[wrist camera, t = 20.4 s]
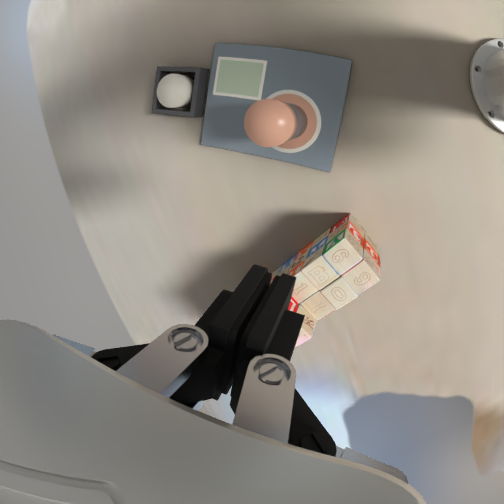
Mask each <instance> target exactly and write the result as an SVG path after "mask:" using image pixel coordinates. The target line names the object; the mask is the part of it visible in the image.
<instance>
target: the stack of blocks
mask: <svg viewBox="0 0 504 504" xmlns="http://www.w3.org/2000/svg"><path fill="white" fill-rule="evenodd" d="M282 273H285V274H288V275H291V276H295V277H296V282H295V286H294V289H293V293H292V297H291V301H290V304H289V308H288V310H290V311H293V312H296V313H299V314H303V315H305V317H304V320H303V324H302V327H301V330H300V333H299V336H298V339H297V342H296V345H295V347H297V346H299V345H300V344H302V343H304V342H305V341H307V340H309V339H311V338H312V335H313V332H314V328H315V325H316V322H317V321H319V320H320V319H322V318H323V317H325V316H327V315H328V314H330V313H331V312H333V311H335V310H336V309H339V308H341V307H342V306H344V305H345V304H347V303H349V302H350V301H352V300H353V299H355V298H356V297H358V295H359V294H361V293H363V292H364V291H366V290H367V289H369V288H370V287H372V286H373V285H375V284H376V283H378V282H379V281H380V257H379V248H378V246H377V245H376V244H375V243H374V241H373V240H372V239H371V238H370V236H369V235H368V234H367V233H366V232H365V230H364V229H363V227H362V226H361V225H360V224H359V223H358V221H357V220H356V219H355V218H354V217H353V216H352V215H351V214H350V213H349V214H348V215H346V216H345V217H344V218H343V219H342V220H340V221H339V222H338V223H337V224H335V225H334V226H333V227H330V228H329V229H328V230H327V231H325V232H324V233H323V234H321V235H320V236H319V237H318V238H316V239H315V240H314V241H312V242H311V243H310V244H308V245H307V246H306V247H305V248H303V249H302V250H301V251H299V252H298V254H296V255H295V256H294V257H292V258H291V259H290V260H288V261H287V262H286V263H284V264H283V265H282V266H281V267H279V268H278V269H277V270H275V271H274V272H273V273H272V279H271V283H272V281H273V279H274V278H275V276H276V275H278V276H281V275H282ZM271 283H270V285H271Z"/></svg>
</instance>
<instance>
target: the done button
mask: <svg viewBox="0 0 504 504" xmlns="http://www.w3.org/2000/svg"><path fill="white" fill-rule="evenodd" d="M193 87H194V81H193V80H192V78H190V77H189V76H186V75H181V74H168V75H166V76H165V77H163V78H162V79H161V81H160V82H159V84H158V87H157V97H158V100H159V102H160V103H161V104H162V105H163V106H165V107H168V108H179V107H185V106H187V105H189V104H190V103H191V101H192V94H193Z"/></svg>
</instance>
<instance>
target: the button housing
mask: <svg viewBox="0 0 504 504" xmlns="http://www.w3.org/2000/svg"><path fill="white" fill-rule="evenodd" d="M170 72H184V73H195V79H194V87H193V94H192V101H191V109H190V111H185V110H176V109H165V108H166V107H165V106H163V105H162V104H161V103H160V102H159V100H158V97H157V87H158V84H159V82H160V81H161V79H162V78H163V77H165V76H166V75H168V74H170ZM208 73H209V69H204V68H197V67H157V72H156V80H155V88H154V96H153V105H152V113H157V114H167V115H177V116H186V117H202V115H203V108H204V100H205V93H206V86H207V79H208Z"/></svg>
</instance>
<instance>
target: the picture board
mask: <svg viewBox="0 0 504 504" xmlns="http://www.w3.org/2000/svg"><path fill="white" fill-rule="evenodd" d="M351 65H352V60H348V59H343V58H338V57H333V56H328V55H323V54H317V53H312V52H305V51H299V50H292V49H284V48H276V47H267V46H257V45H245V44H229V43H215V48H214V54H213V60H212V67H211V73H210V80H209V87H208V94H207V101H206V108H205V116H204V123H203V131H202V140H201V145H205V146H211V147H217V148H222V149H227V150H233V151H238V152H243V153H248V154H253V155H258V156H262V157H267V158H271V159H276V160H280V161H285V162H289V163H293V164H298V165H302V166H306V167H310V168H314V169H318V170H322V171H326V172H329V173H330V170H331V166H332V161H333V157H334V152H335V147H336V143H337V138H338V133H339V128H340V123H341V118H342V113H343V108H344V103H345V98H346V93H347V87H348V82H349V76H350V70H351ZM262 99H274V100H279V101H283V102H286V103H291V104H295V105H297V106H299V107H301V108H302V109H303V111H304V112H305V114H306V116H307V128H306V130H305V132H304V133H303V134H302V135H301V136H299V137H297V138H295V139H292V140H289V141H287V142H285V143H283V144H281V145H278V146H275V147H262V146H259V145H257V144H255V143H254V142H253V141H252V140H251V139H250V138H249V137H248V135H247V134H246V131H245V128H244V117H245V114H246V112H247V110H248V108H249V107H250V106H251V105H252V104H253V103H255V102H257V101H259V100H262Z"/></svg>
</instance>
